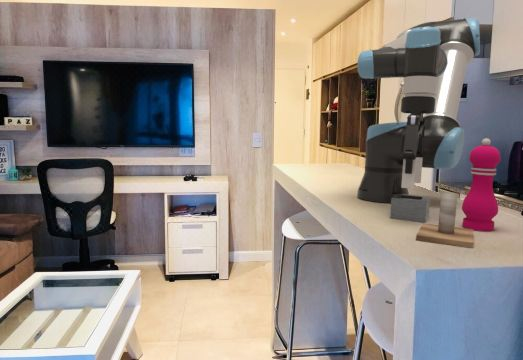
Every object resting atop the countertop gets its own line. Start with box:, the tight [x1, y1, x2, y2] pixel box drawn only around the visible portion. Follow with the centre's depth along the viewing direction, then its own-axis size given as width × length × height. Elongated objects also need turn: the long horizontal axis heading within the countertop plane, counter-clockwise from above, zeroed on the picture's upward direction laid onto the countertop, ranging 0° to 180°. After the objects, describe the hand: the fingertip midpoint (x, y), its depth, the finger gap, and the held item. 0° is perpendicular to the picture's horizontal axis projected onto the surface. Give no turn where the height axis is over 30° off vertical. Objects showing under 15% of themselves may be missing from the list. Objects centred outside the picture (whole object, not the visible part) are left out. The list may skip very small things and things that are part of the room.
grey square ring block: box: [389, 194, 431, 223], centre depth 103 cm, size 8×8×5 cm
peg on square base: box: [415, 191, 474, 249], centre depth 85 cm, size 12×10×9 cm
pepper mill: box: [461, 137, 501, 232], centre depth 93 cm, size 7×7×20 cm
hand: (411, 185), depth 102 cm, fingers open, 13 cm apart
